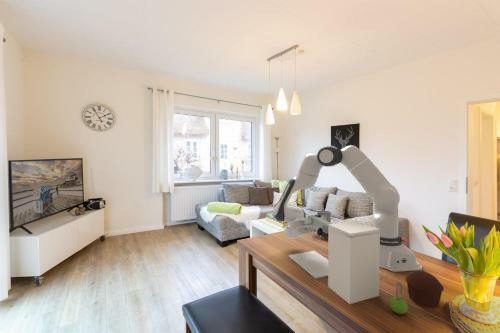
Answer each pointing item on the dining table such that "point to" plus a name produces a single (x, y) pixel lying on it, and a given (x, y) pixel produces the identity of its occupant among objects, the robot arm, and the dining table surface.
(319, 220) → the t-shaped bar
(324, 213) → the milk frother
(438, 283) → the muffin
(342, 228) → the tall white box
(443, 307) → the dining table surface
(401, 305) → the green rounded piece
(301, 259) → the mat
